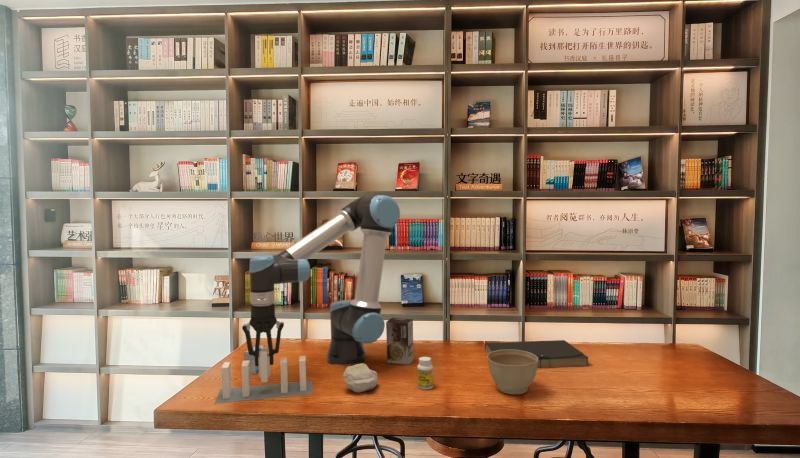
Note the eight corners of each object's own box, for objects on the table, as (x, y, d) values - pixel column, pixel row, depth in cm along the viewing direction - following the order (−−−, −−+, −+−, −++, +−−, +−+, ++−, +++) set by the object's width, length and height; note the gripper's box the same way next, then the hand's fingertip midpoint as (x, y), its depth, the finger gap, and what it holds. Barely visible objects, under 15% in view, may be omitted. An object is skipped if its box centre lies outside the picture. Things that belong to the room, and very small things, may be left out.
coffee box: (414, 359, 185) (413, 318, 183) (409, 365, 179) (408, 323, 177) (392, 357, 188) (391, 317, 186) (386, 362, 182) (385, 321, 180)
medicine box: (255, 375, 170) (254, 352, 170) (244, 374, 171) (243, 351, 171) (266, 367, 178) (265, 345, 178) (255, 367, 179) (254, 344, 178)
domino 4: (287, 386, 159) (287, 357, 159) (287, 392, 154) (286, 362, 153) (281, 386, 159) (280, 357, 158) (281, 393, 154) (280, 363, 153)
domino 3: (268, 376, 158) (267, 346, 157) (267, 381, 153) (266, 351, 152) (262, 376, 157) (261, 347, 157) (261, 382, 152) (260, 351, 151)
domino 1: (231, 391, 155) (230, 361, 155) (229, 398, 150) (228, 367, 150) (225, 392, 155) (224, 362, 154) (222, 398, 150) (221, 368, 149)
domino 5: (306, 384, 161) (305, 355, 160) (306, 390, 155) (305, 360, 155) (300, 385, 160) (299, 356, 159) (300, 391, 155) (299, 361, 154)
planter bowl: (535, 381, 161) (536, 350, 161) (539, 401, 146) (540, 367, 145) (487, 378, 165) (487, 347, 164) (486, 397, 149) (486, 364, 148)
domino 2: (250, 389, 157) (249, 360, 156) (249, 396, 152) (247, 365, 151) (244, 390, 156) (243, 360, 156) (242, 396, 151) (241, 366, 151)
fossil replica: (384, 386, 159) (359, 383, 164) (383, 361, 160) (358, 359, 164) (365, 397, 149) (339, 394, 154) (364, 370, 149) (338, 368, 154)
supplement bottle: (435, 384, 160) (434, 356, 159) (431, 390, 155) (431, 362, 154) (419, 382, 162) (419, 355, 161) (415, 388, 157) (415, 360, 156)
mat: (311, 381, 164) (311, 380, 164) (312, 394, 153) (312, 393, 153) (220, 390, 158) (220, 389, 157) (214, 404, 147) (214, 403, 147)
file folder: (501, 360, 172) (484, 340, 196) (501, 371, 173) (484, 350, 197) (589, 356, 175) (562, 338, 199) (589, 367, 175) (562, 347, 199)
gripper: (236, 307, 148) (239, 381, 150) (286, 305, 151) (288, 377, 153) (239, 302, 155) (241, 372, 157) (286, 300, 158) (288, 368, 160)
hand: (264, 374), depth 155 cm, fingers closed on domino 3, 2 cm apart
